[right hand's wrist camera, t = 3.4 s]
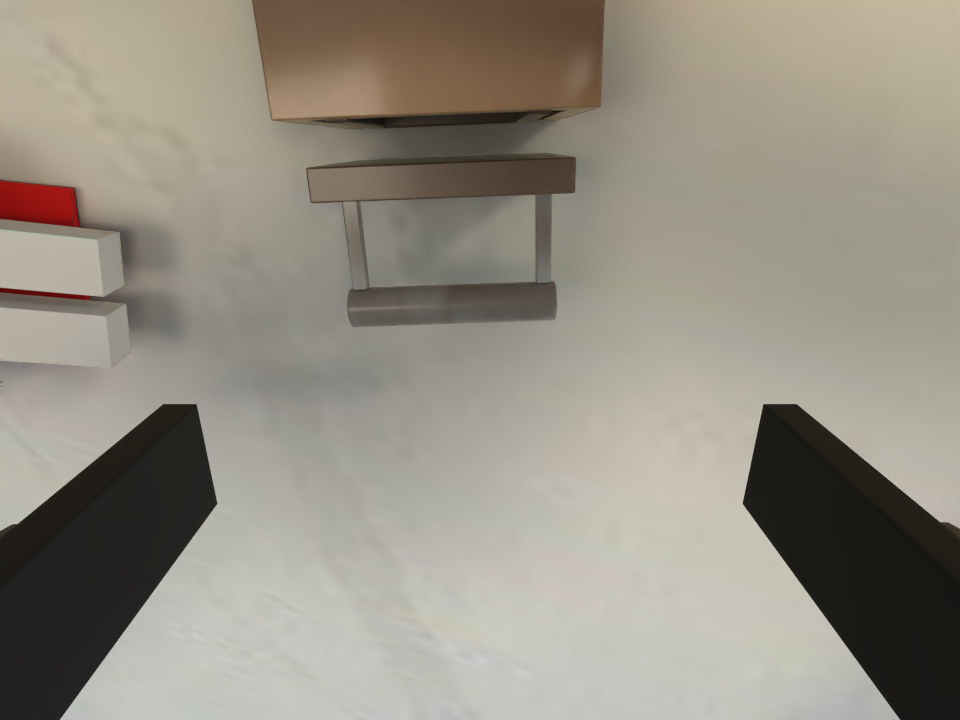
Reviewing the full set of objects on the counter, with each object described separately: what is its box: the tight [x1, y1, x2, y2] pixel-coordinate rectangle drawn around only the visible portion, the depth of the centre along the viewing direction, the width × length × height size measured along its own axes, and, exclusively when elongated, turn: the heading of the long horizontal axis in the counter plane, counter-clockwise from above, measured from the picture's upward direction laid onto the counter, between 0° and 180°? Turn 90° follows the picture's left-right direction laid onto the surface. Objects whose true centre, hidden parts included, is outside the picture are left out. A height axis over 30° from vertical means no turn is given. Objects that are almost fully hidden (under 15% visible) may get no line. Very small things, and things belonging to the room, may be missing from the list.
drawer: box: [306, 111, 576, 327], centre depth 22 cm, size 21×9×9 cm, turn 2°
